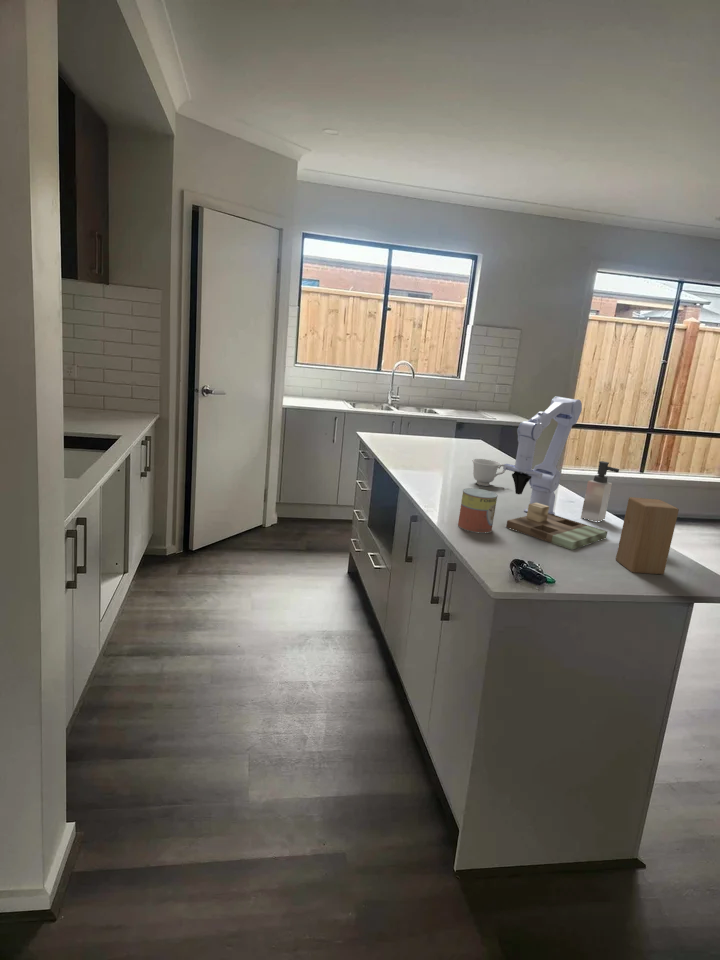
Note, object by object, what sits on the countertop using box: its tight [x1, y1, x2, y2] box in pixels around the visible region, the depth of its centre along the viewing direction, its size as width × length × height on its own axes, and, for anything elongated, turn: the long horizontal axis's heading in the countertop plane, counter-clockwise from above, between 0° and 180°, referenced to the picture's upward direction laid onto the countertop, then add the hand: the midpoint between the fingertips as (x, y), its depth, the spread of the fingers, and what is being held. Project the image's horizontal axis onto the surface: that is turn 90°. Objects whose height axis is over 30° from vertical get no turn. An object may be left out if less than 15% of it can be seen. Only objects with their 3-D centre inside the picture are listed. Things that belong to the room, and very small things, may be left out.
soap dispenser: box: [580, 460, 620, 522], centre depth 229 cm, size 6×9×22 cm
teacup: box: [472, 458, 507, 487], centre depth 270 cm, size 12×15×10 cm
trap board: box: [505, 513, 608, 551], centre depth 209 cm, size 24×24×2 cm
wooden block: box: [615, 496, 679, 575], centre depth 181 cm, size 10×10×20 cm
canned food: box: [457, 487, 498, 534], centre depth 204 cm, size 11×11×12 cm
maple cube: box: [526, 503, 549, 522], centre depth 214 cm, size 5×5×5 cm
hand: (518, 493), depth 219 cm, fingers closed
